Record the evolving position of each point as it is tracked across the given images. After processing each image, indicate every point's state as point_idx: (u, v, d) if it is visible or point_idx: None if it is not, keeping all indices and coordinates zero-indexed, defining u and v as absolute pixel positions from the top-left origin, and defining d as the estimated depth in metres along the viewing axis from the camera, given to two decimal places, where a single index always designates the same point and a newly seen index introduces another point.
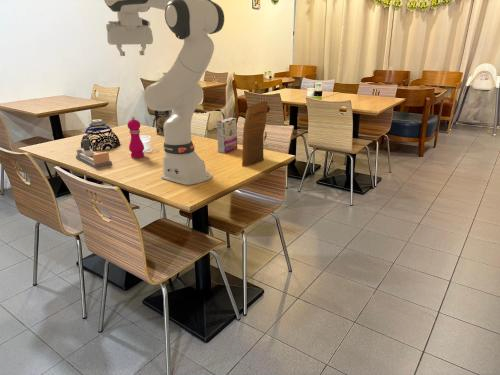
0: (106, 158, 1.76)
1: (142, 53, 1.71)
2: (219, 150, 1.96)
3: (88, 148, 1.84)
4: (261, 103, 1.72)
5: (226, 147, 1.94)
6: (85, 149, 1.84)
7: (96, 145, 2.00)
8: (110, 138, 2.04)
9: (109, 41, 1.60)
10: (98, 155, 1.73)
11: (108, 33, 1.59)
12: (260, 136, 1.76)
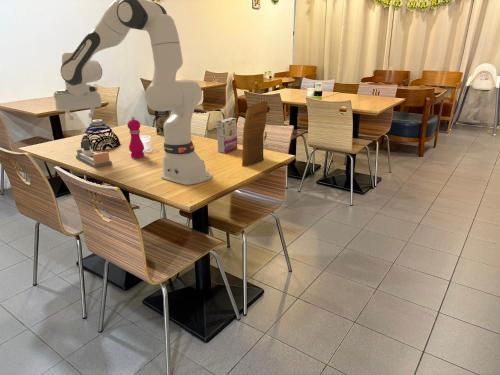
0: (106, 158, 1.76)
1: (91, 115, 1.82)
2: (219, 150, 1.96)
3: (88, 148, 1.84)
4: (261, 103, 1.72)
5: (226, 147, 1.94)
6: (85, 149, 1.84)
7: (96, 145, 2.00)
8: (110, 138, 2.04)
9: (57, 108, 1.71)
10: (98, 155, 1.73)
11: (56, 101, 1.70)
12: (260, 136, 1.76)
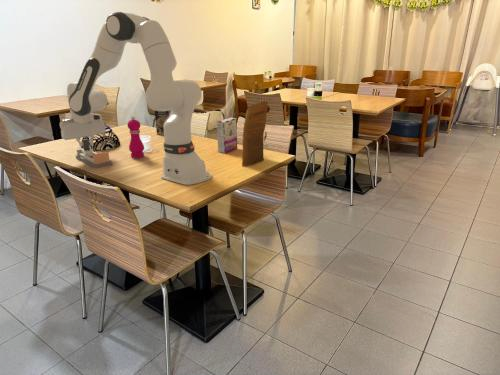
0: (106, 158, 1.76)
1: (90, 143, 1.85)
2: (219, 150, 1.96)
3: (88, 148, 1.84)
4: (261, 103, 1.72)
5: (226, 147, 1.94)
6: (85, 149, 1.84)
7: (96, 145, 1.99)
8: (110, 138, 2.03)
9: (62, 137, 1.76)
10: (98, 155, 1.73)
11: (62, 130, 1.75)
12: (260, 136, 1.76)
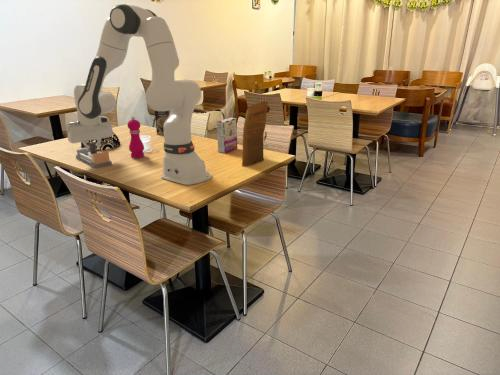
0: (106, 158, 1.76)
1: (97, 146, 1.80)
2: (219, 150, 1.96)
3: (95, 151, 1.79)
4: (261, 103, 1.72)
5: (226, 147, 1.94)
6: (92, 152, 1.79)
7: None
8: (110, 138, 2.03)
9: (69, 140, 1.71)
10: (98, 155, 1.73)
11: (68, 133, 1.70)
12: (260, 136, 1.76)
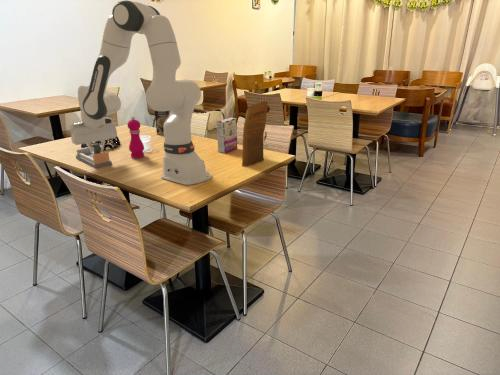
0: (106, 158, 1.76)
1: (101, 148, 1.77)
2: (219, 150, 1.96)
3: None
4: (261, 103, 1.72)
5: (226, 147, 1.94)
6: None
7: None
8: None
9: (73, 142, 1.68)
10: (98, 155, 1.73)
11: (72, 134, 1.67)
12: (260, 136, 1.76)
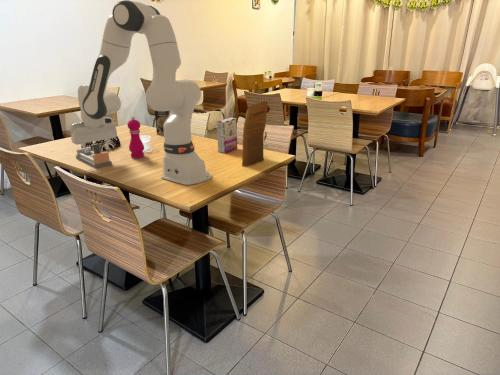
0: (106, 158, 1.76)
1: (106, 147, 1.79)
2: (219, 150, 1.96)
3: None
4: (261, 103, 1.72)
5: (226, 147, 1.94)
6: None
7: None
8: (110, 138, 2.03)
9: (73, 141, 1.68)
10: (98, 155, 1.73)
11: (72, 134, 1.67)
12: (260, 136, 1.76)
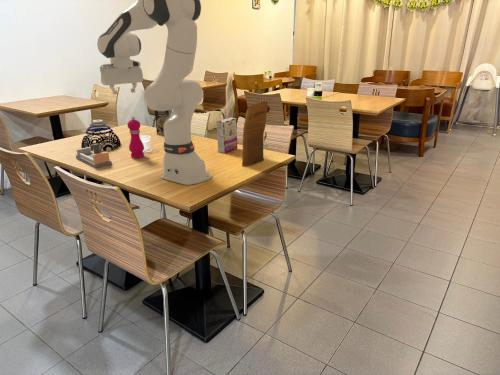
0: (106, 158, 1.76)
1: (133, 91, 1.85)
2: (219, 150, 1.96)
3: None
4: (261, 103, 1.72)
5: (226, 147, 1.94)
6: None
7: None
8: (111, 138, 2.03)
9: (103, 82, 1.74)
10: (98, 155, 1.73)
11: (102, 74, 1.73)
12: (260, 136, 1.76)
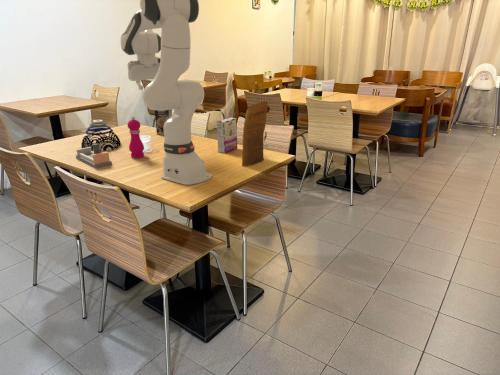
0: (106, 158, 1.76)
1: None
2: (219, 150, 1.96)
3: None
4: (261, 103, 1.72)
5: (226, 147, 1.94)
6: None
7: None
8: (111, 138, 2.03)
9: (130, 78, 1.85)
10: (98, 155, 1.73)
11: (129, 71, 1.84)
12: (260, 136, 1.76)
